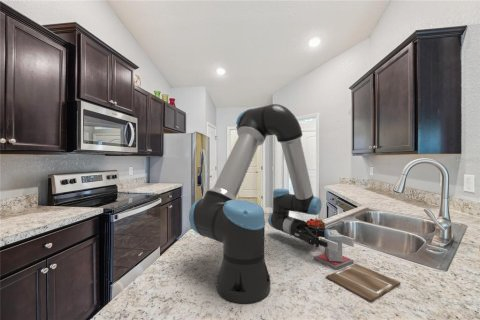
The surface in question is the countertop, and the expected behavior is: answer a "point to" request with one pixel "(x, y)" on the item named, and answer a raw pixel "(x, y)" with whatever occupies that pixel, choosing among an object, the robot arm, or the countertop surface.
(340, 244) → the medicine box
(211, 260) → the countertop surface
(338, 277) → the cutting board
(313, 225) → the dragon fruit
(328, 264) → the ink pad
